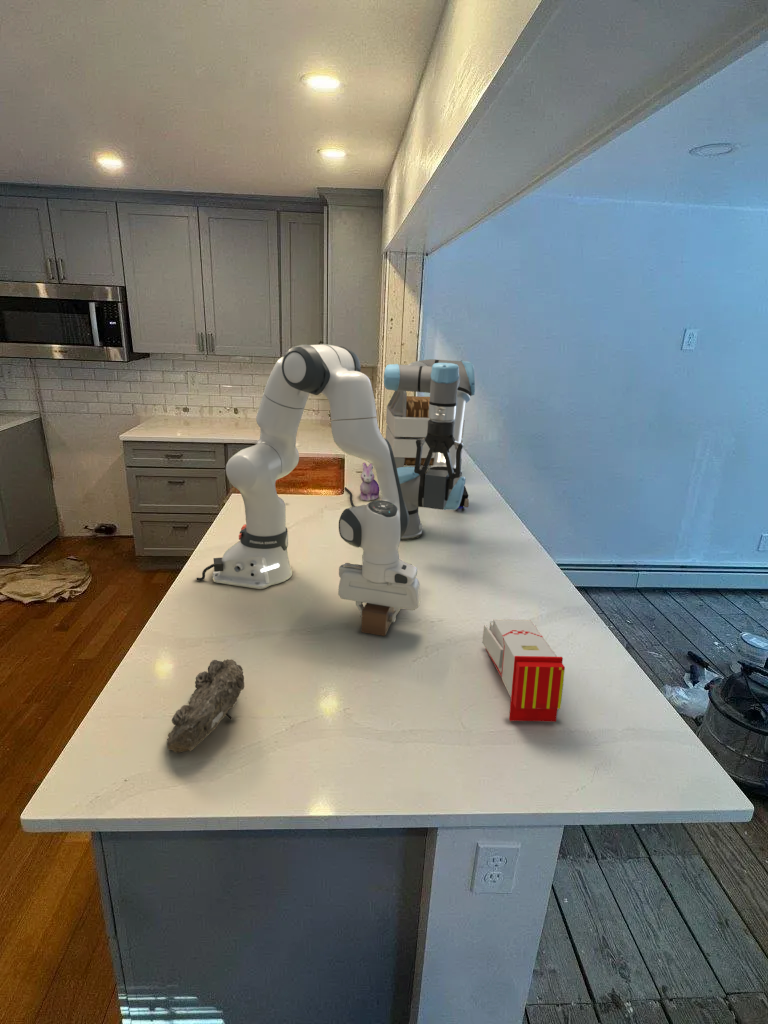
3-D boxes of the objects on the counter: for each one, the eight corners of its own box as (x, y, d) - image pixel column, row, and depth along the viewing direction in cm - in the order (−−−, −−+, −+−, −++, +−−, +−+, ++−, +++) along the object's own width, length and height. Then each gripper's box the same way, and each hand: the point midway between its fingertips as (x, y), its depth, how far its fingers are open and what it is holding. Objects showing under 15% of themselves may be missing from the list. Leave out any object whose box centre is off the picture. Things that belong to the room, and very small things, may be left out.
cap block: (426, 501, 171) (429, 469, 168) (446, 503, 170) (449, 471, 166) (423, 507, 166) (425, 474, 162) (443, 509, 164) (446, 476, 161)
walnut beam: (390, 579, 166) (391, 561, 164) (410, 582, 165) (411, 564, 163) (361, 632, 139) (362, 610, 136) (385, 636, 137) (386, 614, 135)
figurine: (364, 502, 230) (365, 466, 225) (353, 495, 238) (354, 460, 233) (384, 500, 234) (386, 464, 229) (373, 492, 242) (375, 458, 237)
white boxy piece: (382, 463, 289) (386, 382, 275) (445, 464, 293) (451, 384, 279) (390, 482, 257) (394, 392, 243) (460, 483, 261) (468, 394, 247)
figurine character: (468, 516, 224) (463, 500, 237) (471, 498, 221) (465, 483, 234) (452, 515, 224) (447, 499, 237) (453, 498, 220) (449, 482, 234)
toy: (529, 604, 135) (573, 663, 106) (524, 656, 138) (566, 727, 109) (478, 603, 135) (509, 662, 105) (474, 655, 137) (503, 727, 108)
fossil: (192, 660, 117) (244, 628, 112) (224, 691, 120) (276, 661, 115) (142, 746, 98) (202, 712, 93) (182, 779, 101) (242, 748, 96)
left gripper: (334, 567, 136) (334, 617, 140) (418, 579, 131) (415, 631, 136) (343, 556, 141) (342, 605, 146) (423, 568, 137) (420, 618, 142)
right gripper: (405, 419, 158) (401, 497, 166) (473, 425, 154) (466, 505, 162) (411, 414, 165) (406, 490, 173) (476, 420, 160) (469, 498, 168)
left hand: (377, 618), depth 141 cm, fingers closed on walnut beam, 6 cm apart
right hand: (435, 497), depth 167 cm, fingers closed on cap block, 6 cm apart
